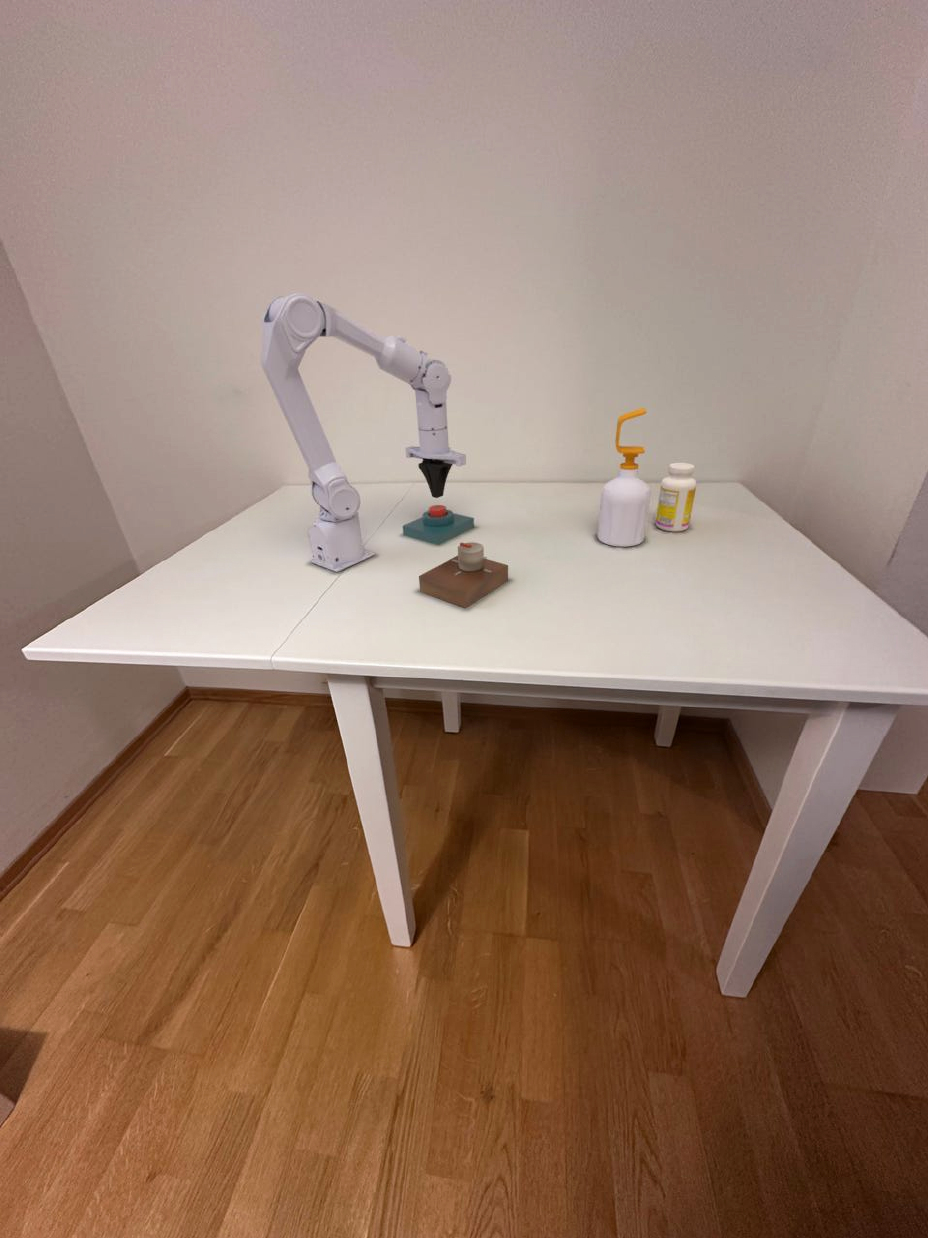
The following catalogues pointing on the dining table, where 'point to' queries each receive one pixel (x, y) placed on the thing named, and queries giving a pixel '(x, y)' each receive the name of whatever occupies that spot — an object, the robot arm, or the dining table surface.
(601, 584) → the dining table surface
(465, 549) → the knob
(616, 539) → the soap bottle
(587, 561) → the dining table surface
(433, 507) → the button
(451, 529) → the button console
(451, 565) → the knob panel
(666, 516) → the supplement bottle
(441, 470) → the robot arm
